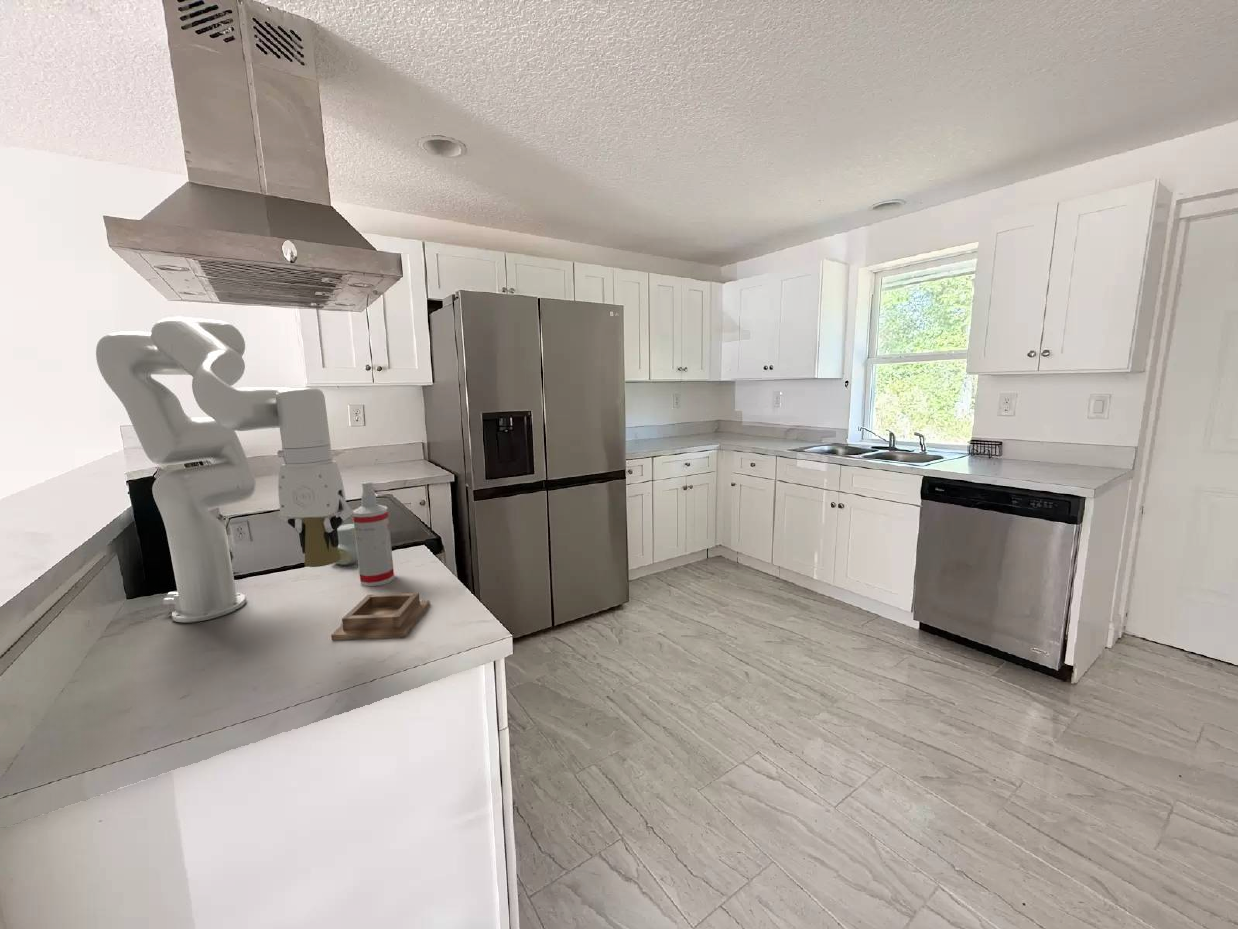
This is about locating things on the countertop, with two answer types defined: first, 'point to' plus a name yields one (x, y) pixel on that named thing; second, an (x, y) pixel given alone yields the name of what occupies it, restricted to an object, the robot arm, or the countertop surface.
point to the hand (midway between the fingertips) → (320, 549)
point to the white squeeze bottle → (373, 540)
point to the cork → (318, 544)
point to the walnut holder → (382, 617)
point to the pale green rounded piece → (347, 545)
